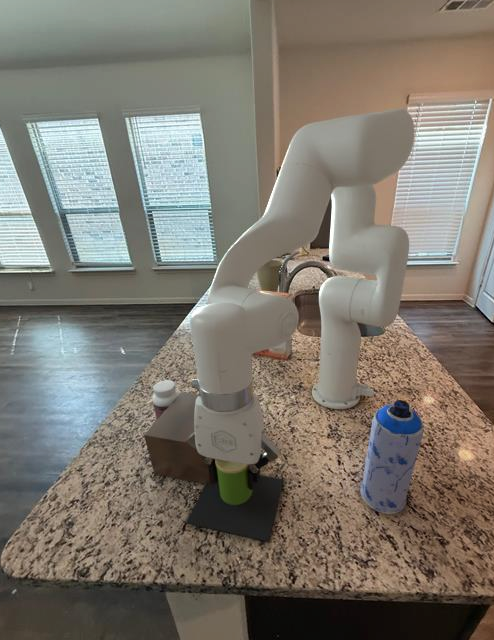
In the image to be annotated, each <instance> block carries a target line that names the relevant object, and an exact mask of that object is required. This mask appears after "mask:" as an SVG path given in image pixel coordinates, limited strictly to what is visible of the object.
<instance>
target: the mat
mask: <svg viewBox="0 0 494 640" xmlns="http://www.w3.org/2000/svg"><path fill="white" fill-rule="evenodd" d="M283 485H284V479H283V478H279V477H272V476H267V475H262V474H260V479H259V482H258V483H255V485H254V488H253V491H252V494H251V496H250V498H249V499H248V500H247V501H246V502H244V503H242V504H239V505H231V504H228V503H226V502H224V501H223V500H222V498H221V495H220V489H219V481H217V482H216V483H214V482H212V483H211V484H209V483H206V484H204V486H203V488H202V490H201V492H200V495H199V496H198V498H197V501H196V502H195V504H194V506H193V508H192V510H191V512H190V514H189V516H188V518H187V520H186V522H185V523H186V524H187V525H190V526H195V527H197V528H204V529H208V530H212V531H216V532H221V533H225V534H229V535H234V536H237V537H238V536H239V537H242V538H247V539H252V540H255V541H259V542H264V543H269V540H270V537H271V532H272V529H273V525H274V520H275V516H276V513H277V509H278V506H279V505H278V503H279V502H280V497H281V493H282V489H283Z"/></svg>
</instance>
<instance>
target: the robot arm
mask: <svg viewBox="0 0 494 640" xmlns="http://www.w3.org/2000/svg"><path fill="white" fill-rule="evenodd" d="M414 143H415V123H414V120H413V117H412V116H411V114H410V113H409V112H408V110H406V109H404V108H394V109H387V110H380V111H374V112H367V113H360V114H351V115H345V116H340V117H336V118H332V119H326V120H319V121H314V122H310V123H308V124H305V125H303V126H301V128H299V129H298V130H297V131H296V132H295V134H294V135H293V136H292V138H291V140H290V142H289V146H288V148H287V151H286V154H285V155H284V158H283V161H282V164H281V167H280V170H279V173H278V175H277V178H276V181H275V184H274V185H273V189H272V192H271V194H270V197H269V200H268V203H267V206H266V208H265V211H264V213H263V215H262V216H261V217H260V218H259V219H258V220H257V221H256V222H255V223H254V224H252V225H251V226H250V227H249V228H248V229H247V230H246V231H245V232H244V233H243V234H242V235H241V236H240V237H239V238H238V239H237V240H236V241H235V242H234V243H233V244H232V245H231V246H230V248H229V249H227V251H226V252H225V254H224V255H223V257H222V259H221V260H220V262H219V264H218V267H217V269H216V272H215V274H214V277H213V280H212V283H211V285H210V288H209V292H208V295H207V299H206V304H205V305H203V306H199V307H198V308H196V309H195V310H194V311H193V312H192V313H191V316H190V320H189V325H190V333H191V341H192V347H193V355H194V361H195V368H196V369H195V370H196V375H197V378H193V379H192V380H191V382H190V387H191V389H195V390H198V394H199V396H198V397H197V399H196V403H195V414H194V432H193V433H192V434H191V435H190V437H189V438H188V440H187V443H188V444H190V445H191V446H192V447H193V448H196V449H197V450H196V451H197V452H198V453H199V454H200V455H201V456H202V457H204V458H205V463H206V464H208V465H209V471H210V474H211V476H212V482H214V483H216V482H217V481H218V474H217V466H216V463H215V459H219V460H224V461H230V462H236V463H242V464H248V466H249V470H248V473H247V475H248V488H249V489H250V490H253V488H254V485H255V483H258V482H259V479H260V475H261V469H262V468H264V467H266V466H268V464H269V463H270V462H273V461H275V460H277V459H278V458H279V456H280V452H281V451H280V449H279V448H278V447H277V446H276V444H274V443H273V442H272V441H271V440H270V438H268V437H267V435H266V431H265V423H264V416H263V411H262V407H261V403H260V400H259V397H258V395H257V394H256V393H254V379H253V378H254V377H253V359H252V358H253V355H255V354H254V353H256V352H259V351H262V350H266V349H270V348H273V347H276V346H279V345H281V344H283V343H284V342H286V341H287V340H288V339H289V338H290V337H291V336H292V337H293V335H294V334H295V332H296V330H297V328H298V325H299V318H300V315H299V311H298V308H297V306H296V304H295V303H294V302H293V300H292V301H291V300H289V299H288V298H286V297H283V296H281V295H277V294H273V293H268V292H263V291H259V290H260V289H254V288H249V285H250V283H251V281H252V279H253V278H254V276H255V275H256V272H257V271H258V270H259V269H260V268H261V267H262V266H263V265H265V264H266V263H267V262H269V261H271V260H276V258H279V257H282V256H284V255H286V254H289V253H291V252H294V251H296V250H299V249H300V248H303V247H306V246H307V245H309V244H311V243H312V242H314V240H315V239H316V238H317V236H318V235H319V232H320V229H321V225H322V223H323V220H324V216H325V214H326V212H327V209H328V205H329V202H330V200H331V217H330V230H329V231H330V232H329V247H328V257H329V263H330V265H331V266H332V267H333V268H334V269H337V270H339V271H345V272H350V273H356V274H357V273H358V274H364V275H365V274H366V275H374V276H375V278H376V280H374V279H369V278H361V277H356V276H355V277H354V276H348V275H333V276H331V277H329V278H327V279H325V280H324V282H323V283H322V284H321V285H320V289H319V292H318V305H319V311H320V323H321V327H320V328H321V330H320V346H319V347H320V348H319V365H318V379H317V381H318V382H316V383H315V384H314V385H313V386H312V388H311V396H312V399H313V400H314V401H315V402H316V403H317V404H319V405H320V406H322V407H325V408H328V409H332V410H347V409H351V408H353V407H355V406H356V405H357V404H358V403H359V402H360V399H361V396H363V397H370V398H373V397H374V394H375V390H374V388H373V389H372V388H369V384H366V383H360V382H358V377H357V376H358V375H357V374H358V367H359V361H360V360H359V359H360V351H361V345H362V334H361V330H360V326H359V325H358V324H363V325H368V326H373V327H376V328H377V327H378V328H385V327H389V326H390V325H392V324H393V323H394V322H395V320H396V318H397V317H398V313H399V310H400V306H401V300H402V296H403V295H402V294H403V290H404V289H403V288H404V283H405V277H406V272H407V266H408V260H409V253H410V237H409V235H408V233H407V231H406V230H405V229H404V228H403V227H400V226H398V225H389V224H376V223H375V214H376V205H377V194H376V190H375V188H374V185H376V184H379V183H380V182H383V181H384V180H386V179H388V178H389V177H391V176H393V175H395V174H396V173H398V172H400V170H401V169H402V168H403V167H404V166H405V165H406V163H407V161H408V159H409V158H410V155H411V153H412V150H413V147H414V146H413V145H414ZM262 450H263V451H264V452H262Z"/></svg>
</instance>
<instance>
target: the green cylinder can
mask: <svg viewBox="0 0 494 640" xmlns="http://www.w3.org/2000/svg"><path fill="white" fill-rule="evenodd" d="M215 463H216V466H217V474H218V481H219V489H220V495H221V498H222V500H223V501H224V502H226V503H228V504H231V505H239V504H242V503H244V502H246V501H247V500H248V499H249V498H250V496H251V494H252V491H253V490H250V489H249V488H248V475H247V473H248V470H249V466H248V464H242V463H236V462H230V461H224V460H219V459H215Z"/></svg>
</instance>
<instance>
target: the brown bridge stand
mask: <svg viewBox="0 0 494 640" xmlns="http://www.w3.org/2000/svg"><path fill="white" fill-rule="evenodd" d="M198 396H199V393H193V392H186V391H181V392H180V394H179V395H178V396H177V397H176V399H175V400H174V401H173V402H172V403H171V404H170V406H169V407H168V408H167V409H166V410H165V411H164V412H163V414H162V415H161V416H160V417H159V418H158V419H156V420H155V422H153V424H152V425H151V427H150V428H149V429H148V430H146V432H145V433H144V435H143V437H144V441H145V444H146V448H147V452H148V457H149V459H150V462H151V467H152V471H153V474H154V475H157V476H161V477H166V478H171V479H177V480H182V481H188V482H193V483H197V484H203V485H206V483H209V484H211V483H212V476H211V474H210V471H209V465H208V464H206V463H205V458H204V457H202V456H201V455H200V454H199V453H198V452H197V451H196V450H197V449H196V448H193V447H192V446H191V445H190V444H188V443H187V440H188V438H189V437H190V435H191V434H192V433H193V432H194V414H195V403H196V399H197V397H198Z"/></svg>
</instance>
